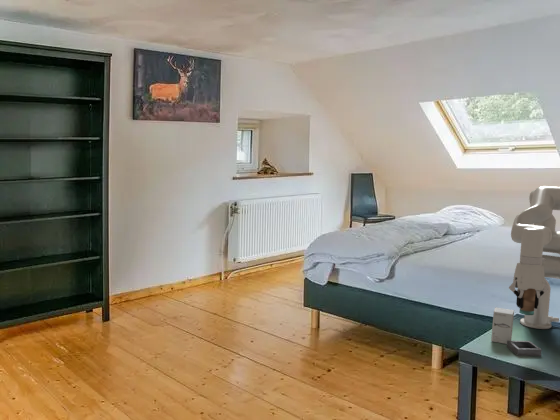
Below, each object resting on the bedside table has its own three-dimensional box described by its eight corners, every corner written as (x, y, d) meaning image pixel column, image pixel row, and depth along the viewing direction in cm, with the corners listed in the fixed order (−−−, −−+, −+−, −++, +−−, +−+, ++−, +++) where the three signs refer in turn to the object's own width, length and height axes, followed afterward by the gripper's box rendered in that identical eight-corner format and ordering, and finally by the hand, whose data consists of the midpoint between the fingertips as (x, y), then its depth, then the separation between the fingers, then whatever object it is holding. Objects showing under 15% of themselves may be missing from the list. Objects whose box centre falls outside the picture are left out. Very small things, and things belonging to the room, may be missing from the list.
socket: (529, 347, 209) (529, 340, 208) (541, 355, 200) (541, 349, 199) (506, 346, 208) (507, 340, 208) (517, 355, 200) (518, 349, 199)
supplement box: (490, 341, 214) (492, 311, 212) (492, 336, 220) (494, 306, 219) (510, 345, 210) (512, 314, 209) (512, 339, 217) (514, 309, 215)
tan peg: (529, 311, 205) (531, 286, 204) (536, 315, 200) (538, 289, 199) (517, 311, 205) (519, 285, 204) (523, 315, 200) (525, 289, 199)
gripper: (547, 259, 204) (543, 305, 206) (504, 258, 204) (500, 304, 206) (558, 263, 197) (554, 310, 199) (513, 262, 196) (509, 310, 198)
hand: (527, 307), depth 202 cm, fingers closed on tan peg, 5 cm apart
